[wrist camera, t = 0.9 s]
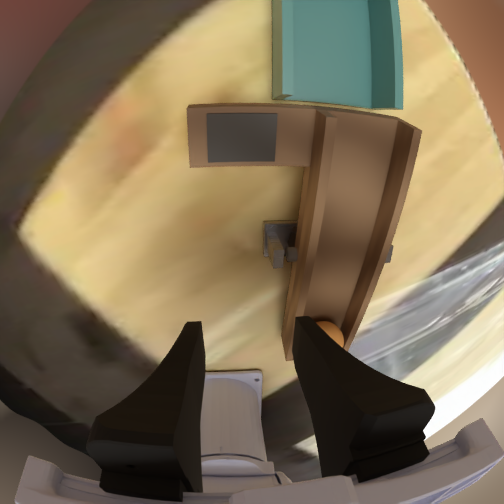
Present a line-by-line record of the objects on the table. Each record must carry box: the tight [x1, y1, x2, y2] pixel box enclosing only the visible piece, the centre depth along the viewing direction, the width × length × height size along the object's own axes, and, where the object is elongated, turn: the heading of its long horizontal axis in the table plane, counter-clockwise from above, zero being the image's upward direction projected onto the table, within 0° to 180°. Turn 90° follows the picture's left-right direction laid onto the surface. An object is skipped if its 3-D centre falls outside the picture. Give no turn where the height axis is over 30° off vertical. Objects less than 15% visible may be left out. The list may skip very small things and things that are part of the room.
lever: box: [187, 103, 422, 361], centre depth 18 cm, size 18×12×3 cm, turn 179°
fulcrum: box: [263, 221, 393, 268], centre depth 20 cm, size 2×8×4 cm, turn 90°
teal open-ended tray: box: [272, 0, 403, 110], centre depth 14 cm, size 10×8×4 cm
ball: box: [316, 321, 344, 348], centre depth 21 cm, size 3×3×3 cm
